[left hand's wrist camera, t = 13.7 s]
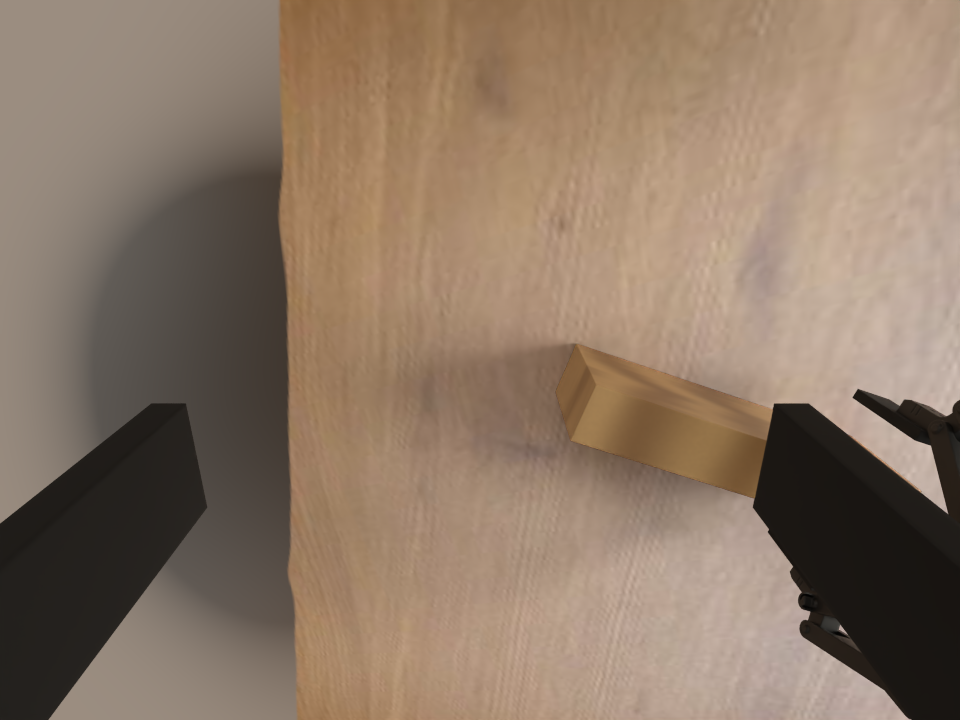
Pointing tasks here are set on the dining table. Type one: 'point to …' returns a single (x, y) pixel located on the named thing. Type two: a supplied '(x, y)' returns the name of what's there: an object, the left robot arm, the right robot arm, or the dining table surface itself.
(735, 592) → the dining table surface
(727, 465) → the bar
